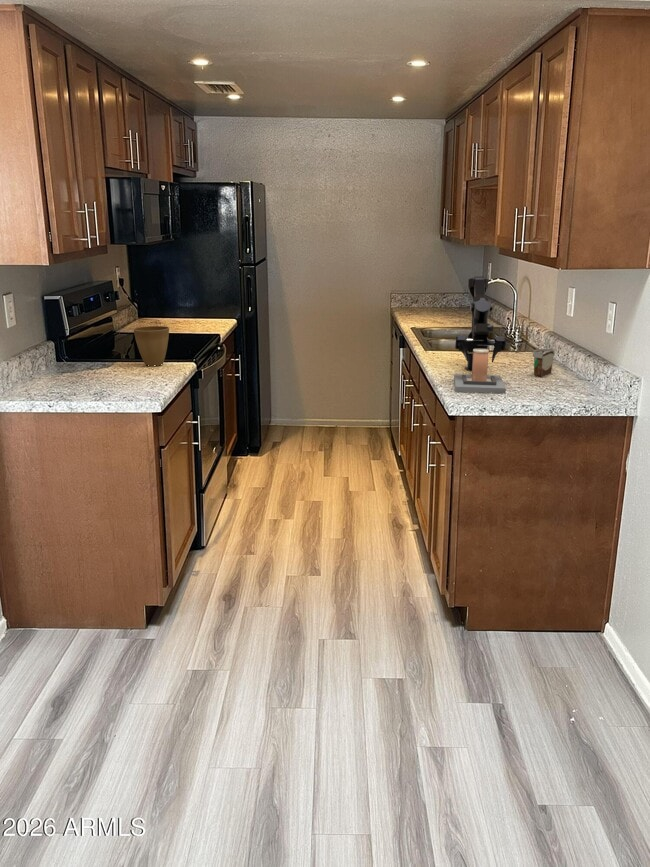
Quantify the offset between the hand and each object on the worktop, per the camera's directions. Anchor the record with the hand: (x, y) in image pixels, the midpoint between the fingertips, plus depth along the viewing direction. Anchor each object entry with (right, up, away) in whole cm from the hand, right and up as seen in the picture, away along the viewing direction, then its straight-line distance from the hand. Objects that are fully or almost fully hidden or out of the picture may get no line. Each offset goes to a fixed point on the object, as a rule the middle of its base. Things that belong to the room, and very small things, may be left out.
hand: (480, 361), depth 282 cm
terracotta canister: (0, -7, +1) cm, 7 cm away
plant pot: (-133, +2, +39) cm, 138 cm away
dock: (0, -9, +3) cm, 10 cm away
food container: (+29, -3, +24) cm, 38 cm away
